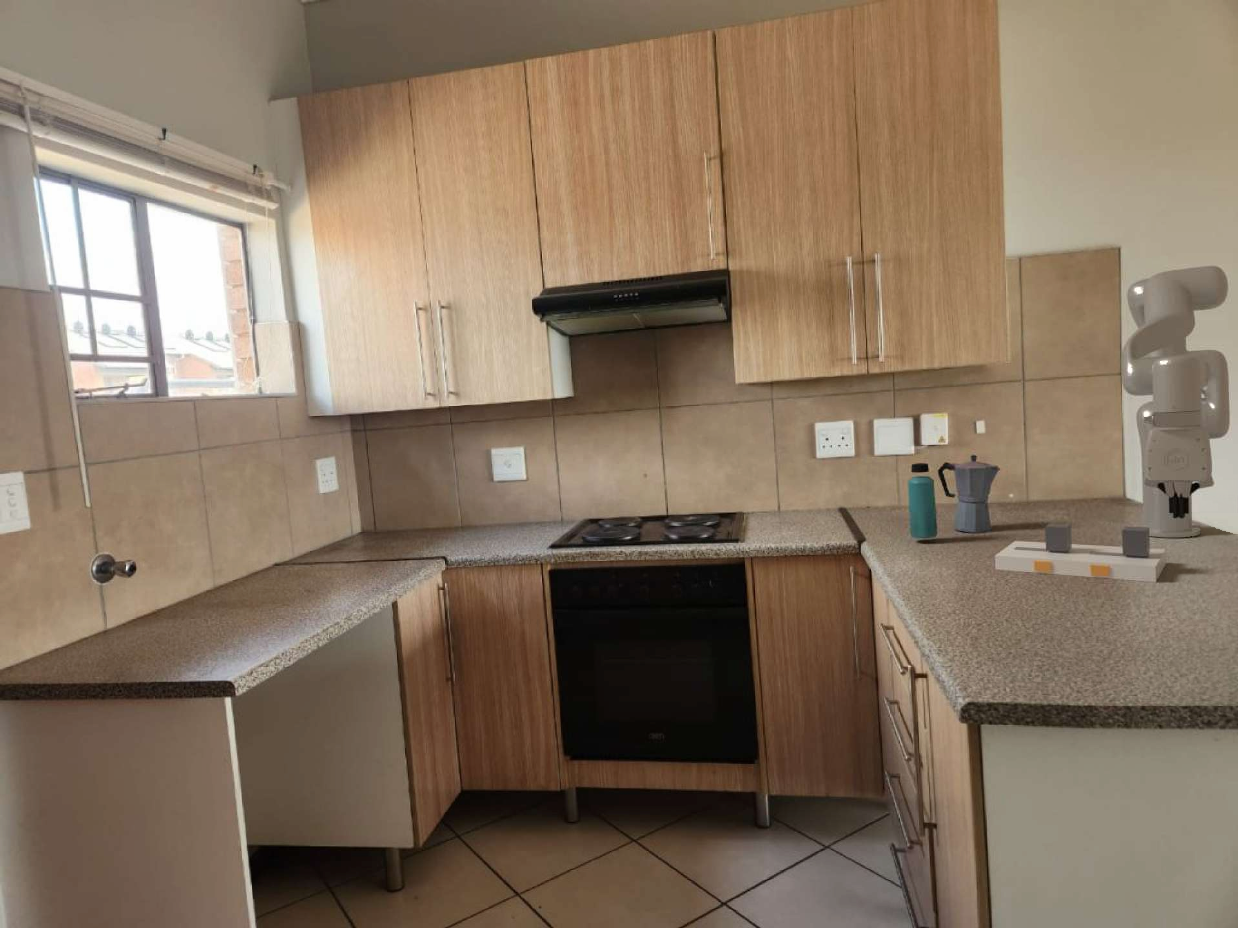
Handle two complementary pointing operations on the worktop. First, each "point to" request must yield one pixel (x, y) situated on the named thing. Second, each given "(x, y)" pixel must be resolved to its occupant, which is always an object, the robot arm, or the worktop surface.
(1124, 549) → the right knob
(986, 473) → the moka pot
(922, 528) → the beverage bottle
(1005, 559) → the switch panel
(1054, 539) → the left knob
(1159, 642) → the worktop surface
